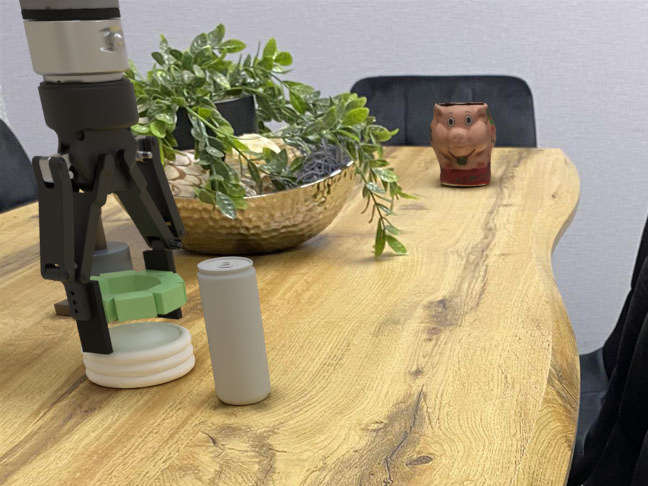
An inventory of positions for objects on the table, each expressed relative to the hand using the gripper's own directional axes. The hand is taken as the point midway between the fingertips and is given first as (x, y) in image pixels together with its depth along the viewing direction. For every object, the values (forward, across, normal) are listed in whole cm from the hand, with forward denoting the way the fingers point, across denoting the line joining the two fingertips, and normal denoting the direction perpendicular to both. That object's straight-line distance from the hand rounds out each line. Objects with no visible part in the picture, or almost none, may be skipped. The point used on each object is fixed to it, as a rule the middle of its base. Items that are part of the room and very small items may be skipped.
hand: (135, 334), depth 91 cm
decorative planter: (+4, +103, +4) cm, 103 cm away
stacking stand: (+4, +17, +17) cm, 24 cm away
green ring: (-3, 0, 0) cm, 3 cm away
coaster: (+4, 0, 0) cm, 4 cm away
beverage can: (+4, -3, -13) cm, 14 cm away
